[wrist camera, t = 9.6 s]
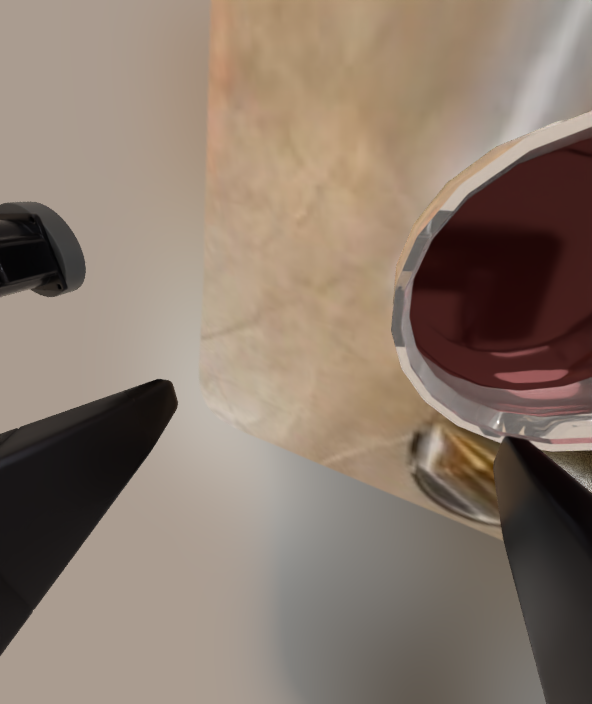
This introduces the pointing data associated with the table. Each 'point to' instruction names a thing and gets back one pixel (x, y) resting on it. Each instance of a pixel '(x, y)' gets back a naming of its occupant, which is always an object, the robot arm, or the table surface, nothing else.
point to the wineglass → (506, 292)
